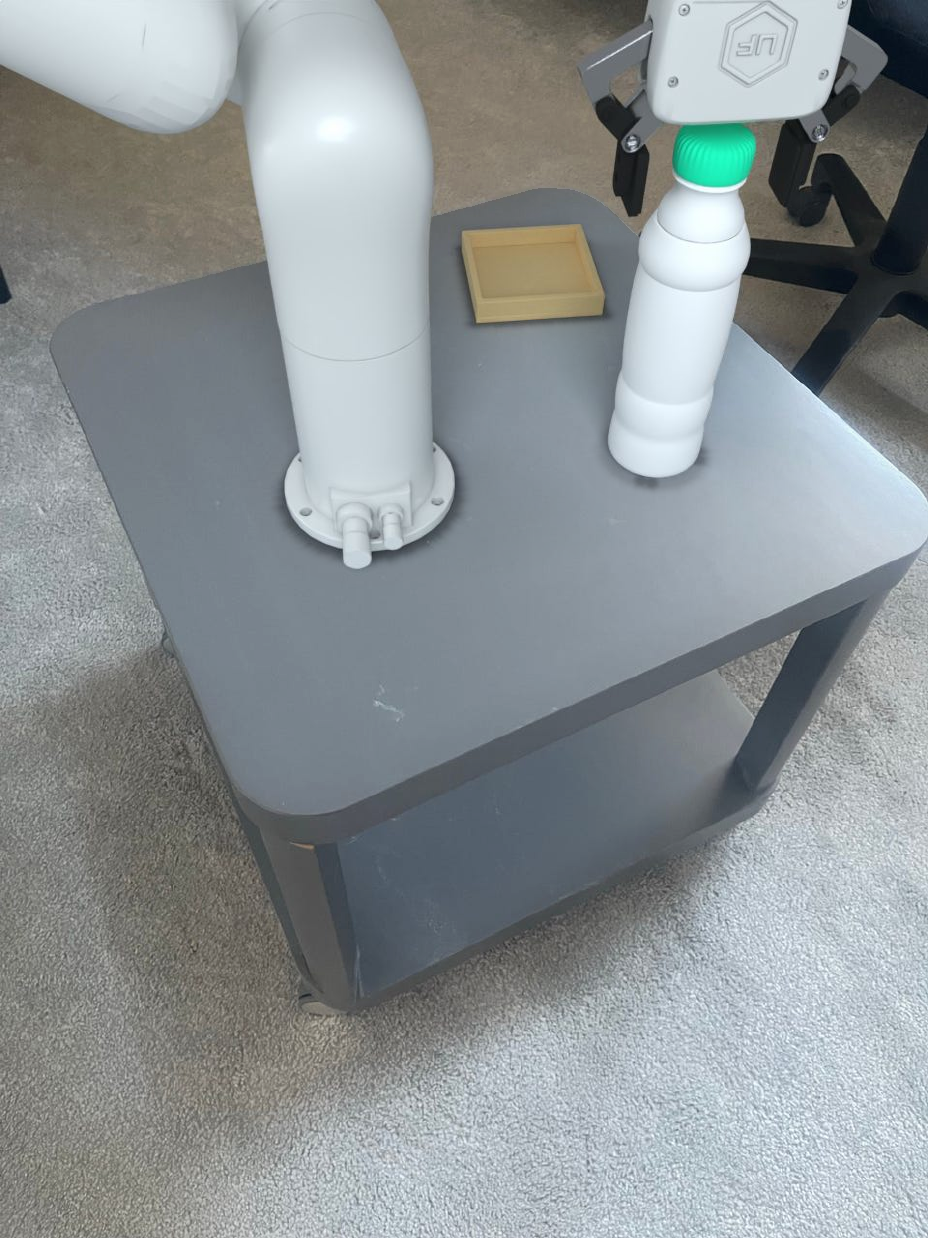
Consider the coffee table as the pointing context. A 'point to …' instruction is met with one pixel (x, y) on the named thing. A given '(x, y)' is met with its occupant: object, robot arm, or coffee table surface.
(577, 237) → the tray
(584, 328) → the coffee table surface
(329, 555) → the coffee table surface
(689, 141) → the water bottle
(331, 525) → the robot arm
